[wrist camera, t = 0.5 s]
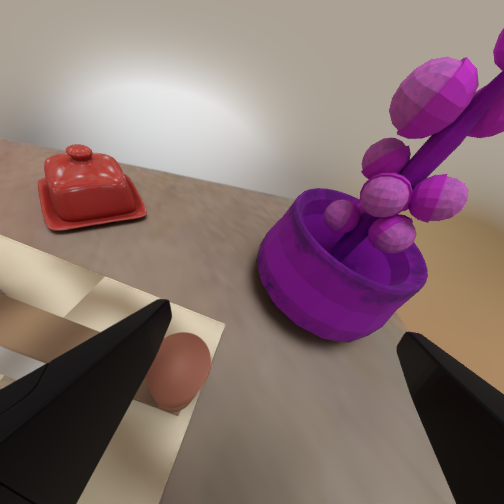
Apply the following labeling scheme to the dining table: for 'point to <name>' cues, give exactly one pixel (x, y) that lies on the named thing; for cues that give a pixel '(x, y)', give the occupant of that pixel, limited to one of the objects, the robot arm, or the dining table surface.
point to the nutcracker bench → (100, 318)
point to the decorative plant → (380, 209)
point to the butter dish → (86, 190)
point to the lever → (72, 334)
